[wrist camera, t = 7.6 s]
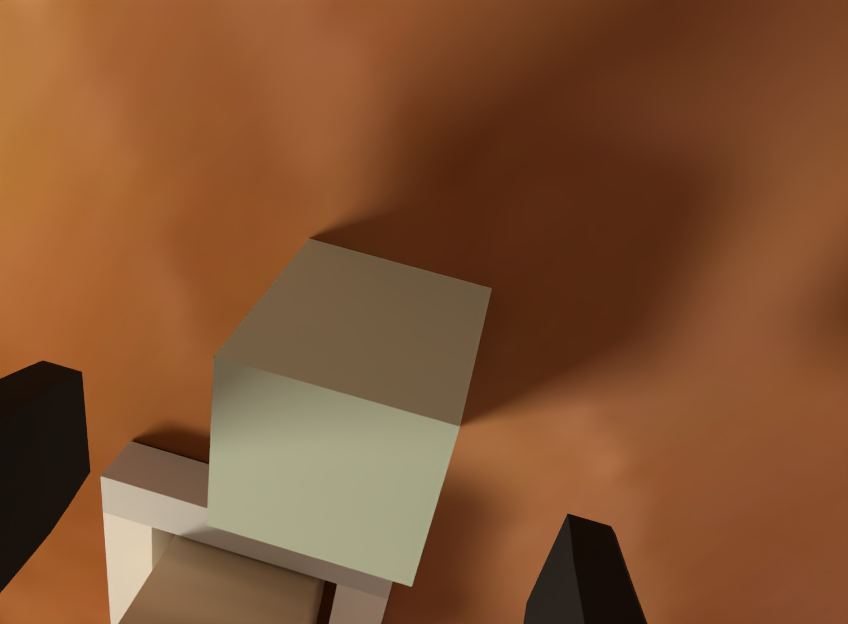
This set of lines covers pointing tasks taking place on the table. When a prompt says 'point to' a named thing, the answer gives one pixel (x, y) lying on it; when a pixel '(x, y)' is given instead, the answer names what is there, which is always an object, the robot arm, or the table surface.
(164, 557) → the tan stepped block
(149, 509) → the jig
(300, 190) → the table surface
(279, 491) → the block
